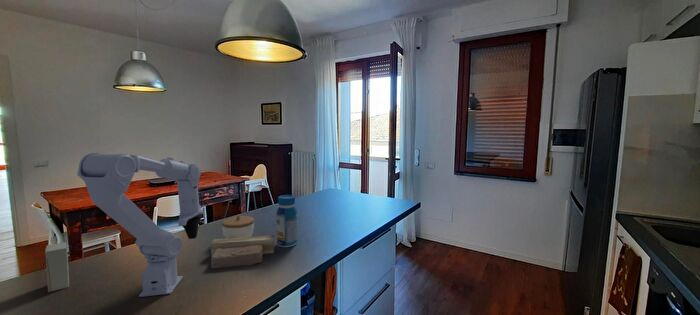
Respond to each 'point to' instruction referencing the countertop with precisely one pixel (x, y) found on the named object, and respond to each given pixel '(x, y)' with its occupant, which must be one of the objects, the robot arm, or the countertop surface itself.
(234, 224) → the white round tub
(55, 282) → the skincare box
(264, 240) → the batten
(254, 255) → the brick
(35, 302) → the countertop surface
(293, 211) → the beverage bottle
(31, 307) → the countertop surface
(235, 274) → the countertop surface
